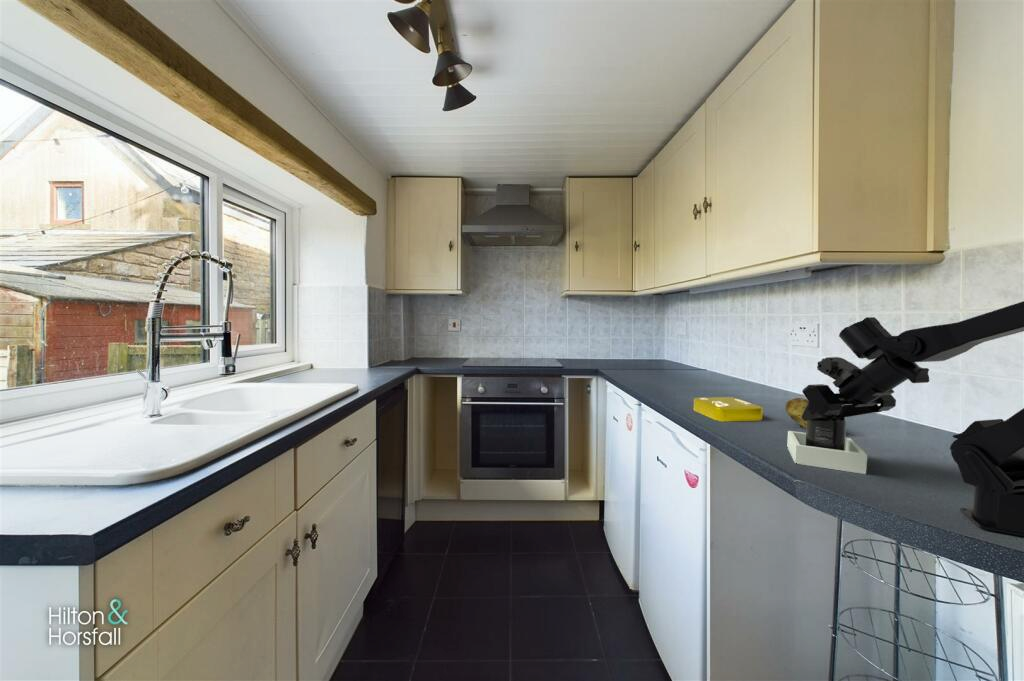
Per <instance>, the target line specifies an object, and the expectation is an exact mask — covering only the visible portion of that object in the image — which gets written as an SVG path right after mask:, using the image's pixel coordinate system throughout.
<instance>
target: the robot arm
mask: <svg viewBox="0 0 1024 681" xmlns="http://www.w3.org/2000/svg"><path fill="white" fill-rule="evenodd" d="M1022 332H1024V300H1023V301H1020V302H1017V303H1014V304H1010V305H1007V306H1005V307H1002V308H998V309H995V310H993V311H989V312H985V313H983V314H980V315H976V316H973V317H971V318H967V319H964V320H961V321H960V320H959V321H958V322H951V323H945V324H938V325H931V326H925V327H920V328H913V329H908V330H905V331H902V332H900V333H899V334H898V335H892V334H891V333H890V332H889V331H888V330H887V329H886V328H885V327H883V326H882V324H881V322H880V320H878V319H877V318H876V317H875V316H874V317H872V316H870V317H865V318H864V319H863V320H860V321H857V322H854V323H853V324H850V325H849V326H845V327H844V328H843V329H842V330H840V332H839V334H838V337H839V338H840V339H841V341H843V343H844V344H845V345H846V346H847V347H848V348H849V349H850V350H851V351H852V352H853V354H854V356H856V357H857V358H858V359H860V360H861V359H862V360H863V359H866V360H868V361H870V360H871V361H870V362H869V363H868V364H867V365H865V366H863V368H860V367H859V366H857V365H855V364H854V363H853V362H850V361H848V360H847V359H845V358H843V357H839V356H834V357H833V356H831V357H825V358H822V359H821V360H820V361H818V362H817V367H816V368H817V371H819V372H820V373H821V374H824V375H826V376H828V377H829V378H831V379H833V380H834V381H833V382H832V384H833V385H834V387H835V388H838V392H837V393H835V392H834V391H833V390H832V388H831V387H830V386H829V385H827V384H823V383H819V384H816V383H815V384H807V386H805V387H804V388H802V394H803V395H804V397H805V399H807V400H809V402H808V405H807V407H806V409H805V411H804V412H803V414H802V416H801V418H802V419H803V420H804V421H808V420H813V419H818V418H823V417H828V416H833V415H834V414H835V413H838V412H839V411H841V412H840V415H841V416H843V417H844V418H845V419H846V418H850V417H857V416H862V415H863V416H864V415H869V414H870V415H871V414H875V413H876V414H878V413H881V412H887V411H890V410H892V409H893V408H895V407H896V405H897V400H896V398H895V397H894V396H893V395H892V394H893V393H895V391H894V389H895V388H896V387H898V386H899V385H901V384H903V383H905V381H907V380H908V381H910V382H911V383H912V384H922V383H923V384H924V383H929V382H930V376H929V371H930V368H928V367H921V366H920V365H918V364H917V363H926V362H928V363H931V362H932V363H933V362H944V361H947V360H949V359H951V358H955V357H956V356H959V355H961V354H964V353H966V352H968V351H970V350H971V349H972V348H974V347H976V346H978V345H980V344H982V343H983V344H984V343H986V342H989V341H994V340H996V339H1001V338H1005V337H1008V336H1012V335H1016V334H1019V333H1022ZM952 437H953V439H955V440H954V441H952V443H951V445H950V447H949V450H950V453H951V457H952V459H953V461H954V462H955V463H956V464H957V466H958V469H959V472H960V475H961V478H962V481H963V482H964V483H965V484H968V485H971V486H973V496H972V504H971V508H966V507H965V508H964V507H960V508H959V511H960V513H962V514H963V515H964V516H965V517H967V518H968V519H969V520H970V521H971V522H972V523H974V524H975V525H976V526H977V527H979V528H980V529H983V530H986V531H991V532H998V533H1004V534H1008V535H1014V536H1019V537H1024V407H1023V408H1021V409H1020V410H1019V411H1017V412H1016V413H1014V414H1013V415H1012V416H1010V417H1008V418H1007V419H1006V420H1004V419H1002V418H996V419H984V420H983V419H982V420H981V419H980V420H974V421H973V422H972V423H970V425H968V427H966V429H965V430H963V431H962V432H959V433H958V434H954V435H952Z"/></svg>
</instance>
